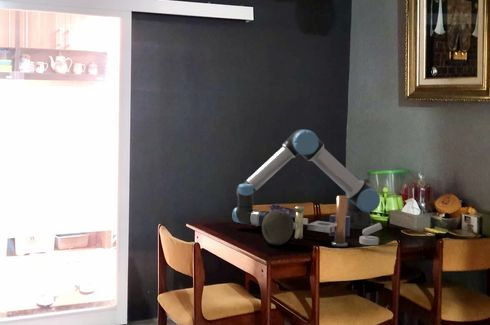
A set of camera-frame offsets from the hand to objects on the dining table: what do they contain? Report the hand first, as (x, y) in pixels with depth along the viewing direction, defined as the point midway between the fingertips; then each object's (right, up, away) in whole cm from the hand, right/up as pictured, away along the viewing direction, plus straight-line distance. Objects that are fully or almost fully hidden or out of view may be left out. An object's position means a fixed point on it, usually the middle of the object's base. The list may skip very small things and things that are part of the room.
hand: (301, 223), depth 277 cm
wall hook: (+31, -9, -5) cm, 33 cm away
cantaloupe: (-12, -8, -14) cm, 20 cm away
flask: (+19, -7, +9) cm, 22 cm away
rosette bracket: (+12, -8, -9) cm, 17 cm away
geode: (-7, -3, +43) cm, 44 cm away
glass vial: (-1, -7, +1) cm, 7 cm away
